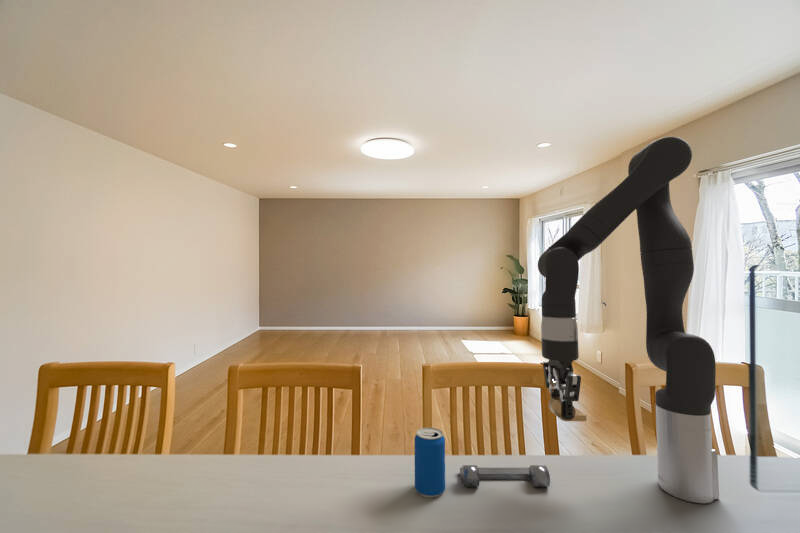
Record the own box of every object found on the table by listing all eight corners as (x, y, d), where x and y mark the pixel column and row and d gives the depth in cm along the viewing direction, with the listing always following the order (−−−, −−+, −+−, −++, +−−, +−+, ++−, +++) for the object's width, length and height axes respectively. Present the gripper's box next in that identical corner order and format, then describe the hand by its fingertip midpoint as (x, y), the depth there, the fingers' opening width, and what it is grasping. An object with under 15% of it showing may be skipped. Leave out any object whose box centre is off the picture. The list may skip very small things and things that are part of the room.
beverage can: (444, 501, 71) (443, 440, 72) (412, 497, 72) (412, 437, 73) (446, 483, 77) (446, 427, 78) (417, 480, 79) (417, 425, 79)
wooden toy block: (548, 413, 81) (548, 396, 81) (576, 413, 81) (575, 395, 81) (557, 421, 76) (556, 402, 76) (586, 421, 76) (585, 402, 76)
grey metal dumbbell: (537, 473, 82) (537, 455, 82) (550, 490, 75) (549, 471, 75) (459, 472, 82) (459, 455, 82) (465, 490, 75) (465, 471, 75)
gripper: (593, 342, 72) (596, 427, 71) (561, 332, 87) (563, 403, 86) (556, 342, 72) (559, 427, 71) (530, 332, 87) (532, 403, 86)
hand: (561, 414), depth 79 cm, fingers closed on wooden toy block, 4 cm apart
